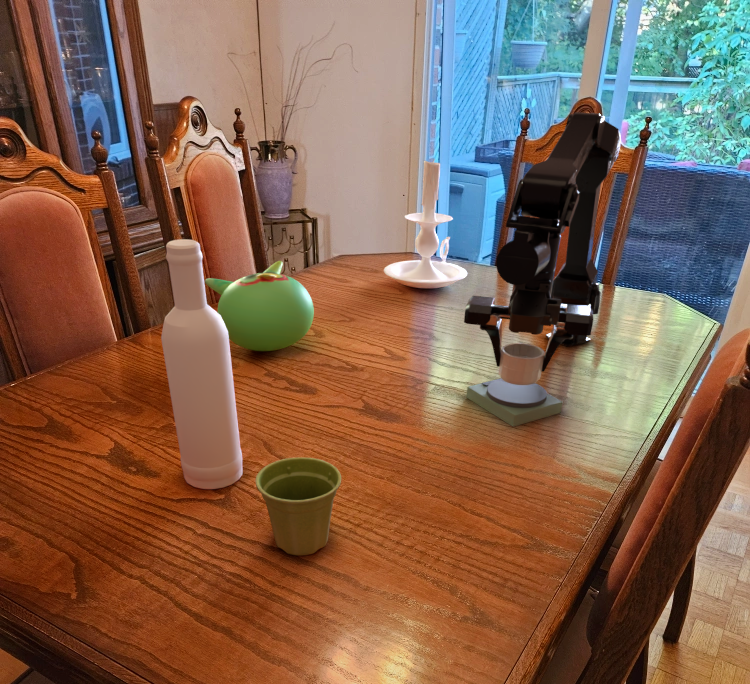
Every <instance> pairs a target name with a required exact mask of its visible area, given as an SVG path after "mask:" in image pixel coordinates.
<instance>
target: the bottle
mask: <svg viewBox="0 0 750 684" xmlns="http://www.w3.org/2000/svg"><path fill="white" fill-rule="evenodd" d="M165 247H166V248H165V249H166V255H165V259H166V261H167V263H168V268H169V276H170V281H171V282H170V283H171V289H172V295H173V296H172V297H173V302H174V306H173V307H172V308H171V310H170V311H169V312H168V314H166V315H165V317H164V321H163V325H162V330H161V337H160V339H161V345H162V351H163V357H164V364H165V369H166V376H167V381H168V382H167V383H168V388H169V394H170V400H171V406H172V412H173V418H174V424H175V430H176V436H177V441H178V446H179V447H178V449H179V455H180V466H181V469H182V473H183V478H184V480H185V482H186V483H187V484H188V485H190V486H192V487H194V488H198V489H201V490H218V489H223V488H226V487H228V486H231V485H233V484H234V483H236V482H237V481H239V480H240V479H241V477H242V476H243V474H244V473H243V471H244V470H243V469H244V468H243V453H242V452H243V451H242V449H241V440H240V432H239V422H238V421H239V420H238V413H237V412H238V411H237V404H236V403H237V402H236V394H235V384H234V383H235V382H234V373H233V364H232V356H231V355H232V354H231V348H230V347H231V346H230V339H229V336H228V330H227V328H226V326H225V323H224V321H223V319H222V317H221V315H220V314H219V313H218V311H216V310H215V309H214V308H213V307H211V306H210V305H209V304H208V301H207V294H206V285H205V284H206V283H205V277H204V269H203V268H204V267H203V259H204V258H203V253H202V251H201V244H200V243H199V242H198V241H197V240H194V239H190V238H189V239H188V238H187V239H186V238H185V239H184V238H182V239H173V240H170V241H168V242H167V243H166V245H165Z"/></svg>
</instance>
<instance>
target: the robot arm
mask: <svg viewBox="0 0 750 684" xmlns="http://www.w3.org/2000/svg"><path fill="white" fill-rule="evenodd" d="M605 118H606V117H605V115H601V114H600V113H595V112H579V111H578V112H574V113H570V114H569V115H568V117H567V120H566V124H565V127H564V130H563V132H562V133H561V135H560V137H559V139H558V140H557V142H556V144H555V145H554V147H553V149H552V150H551V152H550V153H549V156H548V157H547V159H546V160H544V161H541V162H538V163H537V162H536V163H534V164H533V165H532V166H531V167H530V168H529V169H528V171H527V172H525V174H524V176H523V178H521V179H520V180H519V181H518V184H517V187H516V189H515V194H514V197H513V200H512V203H511V207H510V209H509V213H508V216H507V220H506V222H505V228H507V229H515V230H514V233H513V239H511V240H510V241H508V242H506V243H505V244H504V245H503V246H502V247H501V248H500V250H499V252H498V254H497V256H496V261H495V262H496V263H495V265H496V266H495V267H496V270H497V273H498V275H499V277H500V278H501V279H502V280H503V281H504V282H506V283H507V284H510V285H512V290H511V294H510V298H509V303H508V305H500V304H495V303H496V302H495V301H496V298H495V297H494V296H493V297H491V296H482V295H472V296H471V297H470V298H469V299H468V300H467V303H466V305H465V309H464V316H463V317H464V318H463V323H465V324H466V325H474V326H475V325H476V326H479V330H481V331H485V332H486V334H487V335H488V337H489V340H490V342H491V346H492V350H493V355H494V359H495V363H496V367H498V368H499V365H500V358H501V350H502V347H503V346H502V343H503V341H502V340H503V320H509V323H508V330H509V331H510V332H511V333H515V334H517V333H518V334H519V333H526V334H531V335H533V336H535V335H536V336H537V335H540V334H542V333H543V331H544V326H545V327H551V326H552V328H551V332H550V333H546V334H545V338H547V339H548V342H547V345H546V350H545V354H544V360H543V365H542V372H543V373H544V372H545V371H546V369H547V367H548V366H549V363H550V362H551V360H552V358H553V356H554V354H555V353H556V351H557V349H558V348H559V347H560V345H562V346H565V347H573V346H576V345H577V346H578V345H581V344H585V343H589V342H591V338H589V337H588V336H591V335H592V331H593V326H594V325H593V324H594V315H598V314H599V311H600V305H601V294H602V293H601V291H600V283H598V276H599V275H598V274H599V270H598V269H597V267H596V265H595V263H594V261H593V260H592V255H593V246H594V238H595V231H596V225H597V216H598V208H599V202H600V194H601V186H602V183H603V182H604V181H605V179H606V178H607V177H608V175H609V173H610V171H611V170H612V168H613V166H614V163H616V162H617V160H618V158H619V153H620V149H621V143H622V138H621V133H620V129H619V128H617V127H616V126H614V125H613V124H611V123H610V122H608V121H606V119H605ZM567 227H568V234H567V235H568V236H567V244H566V254H565V262H564V263H563V264H562V265H561V267H560V269H559V271H558V273H557V275H556V276H555V273H556V269H557V261H558V256H559V251H560V246H561V245H560V244H561V239H562V236H561V235H562V234H563V233H564V232H565V230H566V228H567ZM542 372H541V373H542Z"/></svg>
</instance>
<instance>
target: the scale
mask: <svg viewBox="0 0 750 684" xmlns="http://www.w3.org/2000/svg"><path fill="white" fill-rule="evenodd" d="M465 398H466V399H468V400H470V401H471V402H473V403H474V404H476V405H477V406H479V407H481V408H482V409H484V410H486V411H487V412H489V413H490V414H492V415H493V416H495V417H496V418H499V419H500V420H502V421H503V422H505V423H507V424H508V425H510V426H511V427H513V428H514V427H517V426H521V425H524V424H527V423H531V422H534V421H538V420H542V419H545V418H548V417H551V416H555V415H558V414H561V412H562V408H563V401H562V400H561V399H559V398H557V397H555V396H553V395H551V394H549V393H548V392H547V389H545V388H544V387H543V386H542V385H540V384H538V383H537V382H536V383H534V384H531V385H515V384H511V383H508V382H506V381H504V380H502V379H501V377H500V378H496V379H492V380H487V381H484V382H481V383H477V384H472V385H469V386H466V395H465Z"/></svg>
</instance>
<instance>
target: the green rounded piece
mask: <svg viewBox="0 0 750 684" xmlns="http://www.w3.org/2000/svg"><path fill="white" fill-rule="evenodd" d="M283 265H284V263H283V261H282V260H278V261H275V262H274V263H273V264H272V265H270V266H268V267H267V268H266V269H265V270H264V271H263V272H258V273H252V274H248V275H246V276H242V277H240V278H238V279H236V280H235V281H230V280H225V279H219V278H213V277H211V278H209V277H208V278H206V279H204V284H206V286H208V287H209V288H210V289H211V290H213V291H214V292H215V293H217V294H218V295H219V296H220V298H219V300H218V303H217V313H219V314H220V315H221V317H222V319H223V321H224V323H225V326H226V328H227V330H228V336H229V341H231V342H232V343H234V345H236V346H238V347H241V348H243V349H246V350H250V351H254V352H274V351H279V350H283V349H286V348H288V347H291V346H292V345H295V344H297V343H298V342H300V341H301V340H303V338H304V337H305V336H306V335H307V334H308V333H309V331H310V330H311V327H312V324H313V321H314V316H315V307H314V302H313V300H312V296H311V295H310V293H309V292H308V290H307V289H306V287H305V286H304V285H303V284H302V283H300V282H299V281H298V280H297V279H295V278H293V277H291V276H289V275H285V274H283V273H281V272H282V270H283Z"/></svg>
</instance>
